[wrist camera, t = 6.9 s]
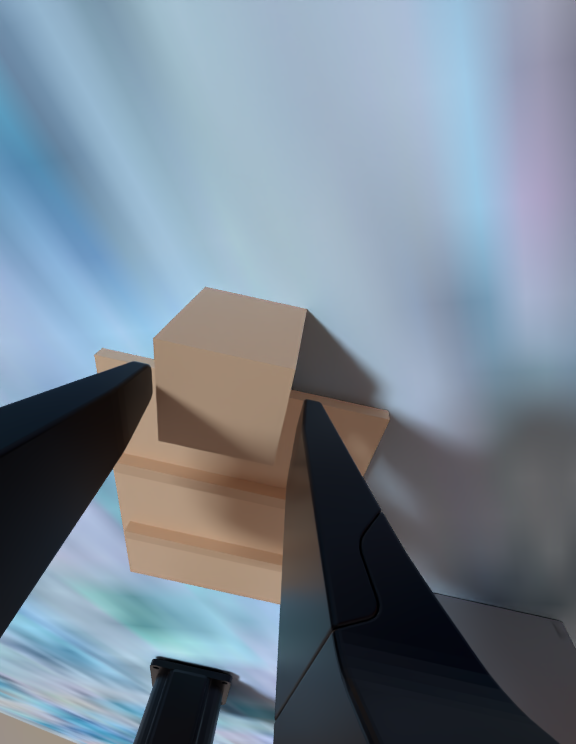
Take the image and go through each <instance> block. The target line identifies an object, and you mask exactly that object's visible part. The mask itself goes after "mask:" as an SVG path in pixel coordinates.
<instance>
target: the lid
mask: <svg viewBox="0 0 576 744" xmlns="http://www.w3.org/2000/svg"><path fill="white" fill-rule="evenodd" d="M306 312H307V309H304V308H300V307H295V306H291V305H286V304H281V303H277V302H272V301H268V300H263V299H259V298H254V297H249V296H245V295H240V294H236V293H231V292H227V291H222V290H218V289H213V288H208V287H205V288H204V289H203V290H202V291H201V292H200V293H199V294H198V295H197V296H196V297H195V298H194V299H192V300H191V301H190V302H189V303H188V304H187V305H186V306H185V307H184V308H183V309H182V310H181V311H180V312H179V313H178V314H177V315H176V316H175V317H174V318H173V319H172V320H171V321H170V322H169V323H168V324H167V325H166V326H165V327H164V328H163V329H162V330H161V331H160V332H159V333H158V334H157V335H156V336H155V337H154V338H153V345H154V359H150V358H146V357H141V356H137V355H132V354H127V353H123V352H118V351H114V350H109V349H105V348H102V349H101V350H100V351H98V352H97V353H96V354H95V355H94V356H95V362H96V368H97V373H100V372H103V371H106V370H109V369H112V368H114V367H117V366H120V365H123V364H126V363H129V362H132V361H137V362H141V363H146V364H149V365H150V366H151V369H152V384H153V394H152V398H151V400H150V402H149V404H148V406H147V408H146V410H145V412H144V414H143V416H142V418H141V420H140V422H139V424H138V426H137V428H136V430H135V432H134V434H133V436H132V438H131V440H130V442H129V444H128V445H127V447H126V449H125V451H124V452H123V454H122V456H121V457H120V459H119V460H118V462H117V463H116V465H115V466H114V468H113V469H114V475H115V481H116V487H117V493H118V499H119V505H120V511H121V517H122V523H123V529H124V535H125V541H126V547H127V553H128V559H129V565H130V571H131V572H136V573H140V574H145V575H149V576H154V577H158V578H163V579H167V580H172V581H176V582H181V583H185V584H190V585H194V586H199V587H203V588H208V589H212V590H217V591H221V592H226V593H230V594H235V595H240V596H244V597H249V598H253V599H258V600H262V601H267V602H271V603H276V604H280V601H281V581H282V561H283V540H284V520H285V500H286V486H287V478H288V472H289V467H290V461H291V456H292V450H293V444H294V439H295V433H296V428H297V424H298V420H299V416H300V412H301V409H302V405H303V402H304V400H305V399H309V400H314V401H318V402H320V403H321V404H322V405H323V407H324V409H325V411H326V412H327V414H328V416H329V418H330V420H331V421H332V423H333V425H334V427H335V428H336V430H337V432H338V434H339V436H340V437H341V439H342V441H343V443H344V444H345V446H346V448H347V450H348V452H349V453H350V455H351V457H352V459H353V460H354V462H355V464H356V466H357V468H358V469H359V471H360V473H361V475H362V476H364V474H365V472H366V470H367V468H368V466H369V463H370V461H371V459H372V457H373V455H374V453H375V451H376V448H377V446H378V444H379V442H380V440H381V438H382V436H383V434H384V431H385V429H386V427H387V425H388V423H389V421H390V417H389V413H388V411H387V410H382V409H378V408H373V407H369V406H364V405H360V404H355V403H350V402H346V401H341V400H337V399H332V398H328V397H323V396H319V395H314V394H309V393H305V392H300V391H296V390H291V387H292V383H293V379H294V374H295V370H296V365H297V360H298V354H299V349H300V344H301V338H302V333H303V328H304V323H305V317H306Z"/></svg>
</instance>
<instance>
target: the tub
mask: <svg viewBox="0 0 576 744" xmlns="http://www.w3.org/2000/svg"><path fill="white" fill-rule="evenodd" d="M434 595H435V596H436V598H437V599H438V600H439V602H440V603H441V605H442V606H443V608H444V609H445V611H446V612H447V613H448V615H449V616H450V618H451V619H452V621H453V622H454V624H455V625H456V626H457V628H458V629H459V631H460V632H461V634H462V635H463V637H464V638H465V639H466V641H467V642H468V644H469V645H470V647H471V648H472V650H473V651H474V652H475V654H476V655H477V657H478V658H479V660H480V661H481V662H482V664H483V665H484V667H485V668H486V669H487V671H488V672H489V673H490V675H491V676H492V677H493V678H494V680H495V681H496V682H497V683H498V685H499V686H500V687H501V688H502V689H503V691H504V692H505V693H506V694H507V695H508V696H509V697H510V698H511V699H512V701H513V702H514V703H515V704H516V705H517V706H518V707H519V708H520V709H521V710H522V711H523V712H524V713H525V714H526V715H527V716H528V717H529V718H530V719H532V720H533V721H534V722H535V723H536V724H537V725H539V726H540V727H541V728H542V729H543V730H545V731H546V732H547V733H548V734H549V735H551V736H552V737H553V738H554V739H555V740H557V741H558V742H559V743H560V744H576V649H575V647H574V645H573V643H572V641H571V639H570V637H569V635H568V633H567V631H566V629H565V627H564V625H563V623H562V622H561V621H556V620H552V619H547V618H543V617H538V616H534V615H529V614H525V613H520V612H516V611H511V610H507V609H502V608H498V607H493V606H489V605H484V604H480V603H475V602H471V601H466V600H462V599H457V598H453V597H448V596H444V595H439V594H435V593H434Z"/></svg>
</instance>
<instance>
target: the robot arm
mask: <svg viewBox="0 0 576 744" xmlns="http://www.w3.org/2000/svg"><path fill="white" fill-rule="evenodd" d="M152 394H153V384H152V369H151V366H150V365H149V364H146V363H141V362H137V361H132V362H129V363H126V364H123V365H120V366H117V367H114V368H112V369H109V370H106V371H103V372H100V373H97V374H94V375H92V376H89V377H86V378H83V379H80V380H77V381H74V382H72V383H69V384H66V385H63V386H60V387H57V388H54V389H51V390H49V391H46V392H43V393H40V394H37V395H34V396H31V397H29V398H26V399H23V400H20V401H17V402H14V403H11V404H8V405H6V406H3V407H0V638H1V636H2V635H3V633H4V632H5V630H6V629H7V627H8V626H9V624H10V623H11V621H12V620H13V618H14V617H15V615H16V614H17V612H18V611H19V609H20V608H21V606H22V605H23V603H24V602H25V600H26V599H27V597H28V596H29V594H30V593H31V591H32V590H33V588H34V587H35V585H36V584H37V582H38V581H39V579H40V578H41V576H42V575H43V573H44V572H45V570H46V569H47V567H48V566H49V564H50V563H51V561H52V560H53V558H54V557H55V555H56V554H57V552H58V551H59V549H60V548H61V546H62V545H63V543H64V542H65V540H66V539H67V537H68V535H69V534H70V532H71V531H72V529H73V528H74V526H75V525H76V523H77V522H78V520H79V519H80V517H81V516H82V514H83V513H84V511H85V510H86V508H87V507H88V505H89V504H90V502H91V501H92V499H93V498H94V496H95V495H96V493H97V492H98V490H99V489H100V487H101V486H102V484H103V483H104V481H105V480H106V478H107V477H108V475H109V474H110V472H111V471H112V469H113V468H114V466H115V465H116V463H117V462H118V460H119V459H120V457H121V456H122V454H123V452H124V451H125V449H126V447H127V445H128V444H129V442H130V440H131V438H132V436H133V434H134V432H135V430H136V428H137V426H138V424H139V422H140V420H141V418H142V416H143V414H144V412H145V410H146V408H147V406H148V404H149V402H150V400H151V398H152ZM150 671H151V678H152V686H153V688H152V691H151V694H150V697H149V700H148V703H147V706H146V709H145V711H144V714H143V717H142V720H141V723H140V726H139V729H138V732H137V735H136V737H135V740H134V743H133V744H213V740H214V735H215V730H216V725H217V721H218V716H219V711H220V706H221V705H224V704H225V703H226V700H227V696H228V693H229V689H230V685H231V681H232V677H231V676H230V675H227V674H223V673H218V672H214V671H209V670H205V669H200V668H196V667H191V666H187V665H182V664H178V663H173V662H169V661H164V660H160V659H153V660H152V662H151V665H150ZM275 721H276V722H275V723H274V740H273V744H560V743H559V742H558V741H557V740H555V739H554V738H553V737H552V736H551V735H549V734H548V733H547V732H546V731H545V730H543V729H542V728H541V727H540V726H539V725H537V724H536V723H535V722H534V721H533V720H532V719H530V718H529V717H528V716H527V715H526V714H525V713H524V712H523V711H522V710H521V709H520V708H519V707H518V706H517V705H516V704H515V703H514V702H513V701H512V699H511V698H510V697H509V696H508V695H507V694H506V693H505V692H504V691H503V689H502V688H501V687H500V686H499V685H498V683H497V682H496V681H495V680H494V678H493V677H492V676H491V675H490V673H489V672H488V671H487V669H486V668H485V667H484V665H483V664H482V662H481V661H480V660H479V658H478V657H477V655H476V654H475V652H474V651H473V650H472V648H471V647H470V645H469V644H468V642H467V641H466V639H465V638H464V637H463V635H462V634H461V632H460V631H459V629H458V628H457V626H456V625H455V624H454V622H453V621H452V619H451V618H450V616H449V615H448V613H447V612H446V611H445V609H444V608H443V606H442V605H441V603H440V602H439V600H438V599H437V598H436V596H435V595H434V593H433V592H432V590H431V589H430V587H429V586H428V585H427V583H426V582H425V580H424V579H423V577H422V576H421V574H420V573H419V571H418V570H417V568H416V567H415V565H414V564H413V562H412V561H411V559H410V557H409V556H408V554H407V553H406V551H405V550H404V548H403V546H402V544H401V543H400V541H399V539H398V538H397V536H396V534H395V533H394V531H393V529H392V528H391V526H390V524H389V522H388V521H387V519H386V517H385V515H384V514H383V513H382V512H381V508H380V507H379V505H378V503H377V501H376V500H375V498H374V496H373V494H372V492H371V491H370V489H369V487H368V485H367V484H366V482H365V480H364V478H363V476H362V475H361V473H360V471H359V469H358V468H357V466H356V464H355V462H354V460H353V459H352V457H351V455H350V453H349V452H348V450H347V448H346V446H345V444H344V443H343V441H342V439H341V437H340V436H339V434H338V432H337V430H336V428H335V427H334V425H333V423H332V421H331V420H330V418H329V416H328V414H327V412H326V411H325V409H324V407H323V405H322V404H321V403H320V402H318V401H314V400H309V399H305V400H304V402H303V405H302V409H301V412H300V416H299V420H298V424H297V428H296V433H295V439H294V444H293V450H292V456H291V461H290V467H289V472H288V478H287V486H286V500H285V520H284V540H283V561H282V581H281V601H280V621H279V641H278V661H277V682H276V702H275Z"/></svg>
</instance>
